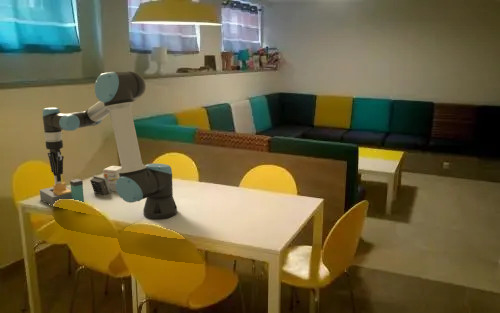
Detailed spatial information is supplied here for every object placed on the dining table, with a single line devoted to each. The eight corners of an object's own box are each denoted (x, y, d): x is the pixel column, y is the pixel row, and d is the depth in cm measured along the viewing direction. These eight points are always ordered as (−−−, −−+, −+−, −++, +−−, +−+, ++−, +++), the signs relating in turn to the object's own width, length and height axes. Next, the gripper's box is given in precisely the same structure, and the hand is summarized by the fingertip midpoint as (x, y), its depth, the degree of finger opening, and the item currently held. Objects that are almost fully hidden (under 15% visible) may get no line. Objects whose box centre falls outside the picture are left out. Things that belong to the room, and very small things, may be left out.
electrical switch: (111, 193, 225) (108, 176, 222) (103, 197, 221) (100, 180, 218) (99, 190, 230) (96, 174, 227) (91, 193, 226) (88, 177, 223)
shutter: (71, 192, 209) (71, 185, 209) (58, 195, 205) (57, 187, 204) (66, 189, 214) (65, 182, 213) (52, 192, 209) (52, 185, 208)
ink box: (103, 190, 230) (102, 168, 228) (113, 185, 238) (111, 165, 235) (117, 191, 228) (116, 170, 225) (126, 187, 236) (125, 166, 233)
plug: (84, 204, 208) (82, 180, 206) (76, 206, 205) (73, 182, 203) (80, 202, 211) (78, 178, 208) (72, 204, 208) (69, 180, 205)
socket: (78, 201, 212) (77, 191, 211) (53, 207, 204) (52, 197, 203) (64, 194, 223) (63, 184, 222) (40, 199, 215) (39, 189, 214)
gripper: (67, 141, 204) (72, 188, 210) (56, 137, 213) (60, 183, 219) (51, 143, 199) (56, 192, 205) (40, 139, 208) (45, 186, 213)
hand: (58, 187), depth 212 cm, fingers closed
